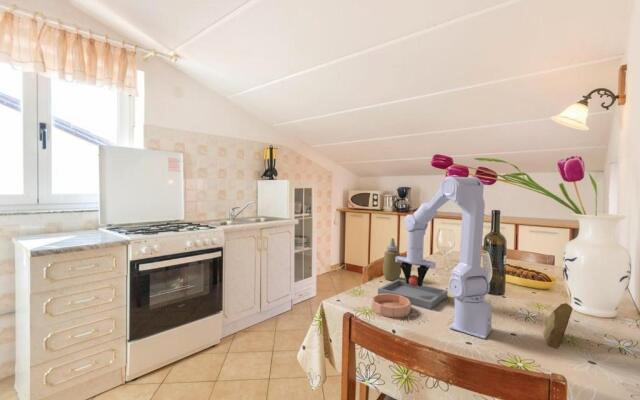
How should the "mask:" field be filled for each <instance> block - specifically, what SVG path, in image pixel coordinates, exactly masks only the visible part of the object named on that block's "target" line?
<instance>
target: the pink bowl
mask: <svg viewBox="0 0 640 400" xmlns="http://www.w3.org/2000/svg"><path fill="white" fill-rule="evenodd" d="M411 306H412V304H411V303H410V301H409V299H408V298H405V297H403V296H401V295H396V294H389V293H387V294H378V293H377V294H375V295H373V296H371V310H372V312H374V313H375V314H377V315H380V316H383V317H386V318H396V319H397V318H403V317H407V316H408V315H409V314H410V311H411V310H412V309H411Z"/></svg>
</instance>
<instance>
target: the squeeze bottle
mask: <svg viewBox="0 0 640 400" xmlns="http://www.w3.org/2000/svg"><path fill="white" fill-rule="evenodd" d="M398 249H399V248H398V246H396V243H395V238H393V237H392V238H391V239H390V243H389V244H388V245H387V246H386V251H384V254H383V255H384V256H383V262H382V263H383V264H382V273H383V276H384V279H385V280H387V281H391V282H393V281H395V280H397V279H399V280H400V276H401V273H402V268H401V266H400V265H401V264H402V263H401V262H395V259H396V257H397V256H400V257H401V253H400V252H399V251H398Z"/></svg>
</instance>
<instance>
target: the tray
mask: <svg viewBox="0 0 640 400" xmlns="http://www.w3.org/2000/svg"><path fill="white" fill-rule="evenodd" d="M387 293H389V294H396V295H401V296H403V297H405V298H408V299H409V301H410V303H411V306H412V305H413V306H415V307H419V308H422V309H427V310H430V311H431V310H433V309H434V308H435V307H437V306H438V305H439V304H440V303H441V302H443V301H444V300H445V299H447V298H448V295H449V294H448V290H447V289H443V288H439V287H435V286H429V285H426V284H422V286H420V287H419V286H412V285H410V283H409V284H406V280H403V279H400V278H399V279H397V280H394V281H391V282H390V283H388V284H385V285H383V286H381V287H378V288H377V294H387Z"/></svg>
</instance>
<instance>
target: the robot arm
mask: <svg viewBox="0 0 640 400" xmlns="http://www.w3.org/2000/svg"><path fill="white" fill-rule="evenodd" d="M484 186H485V185H484V183H483V182H482V181H481V180H480V179H479V178H478V177H476V176H467V177H466V176H451V175H450V176H446V177H445V178H444V179H443V181H441V182H440V184H439V189H438V191H437V192H436V194H434V196H433V197H432V198H431V199H430V201H429V202H422V203H421V204H420V206H419V207H418V209H416V210H415V211H414V213H413V214H407V215H406V216H405V217H404V222H403V223H404V224H403V225H404V228H405V230H406V232H407V234H406V235H407V236H406V237H407V238H406V256H401V255H400V256H397V257H396V259H395V262H400V263H401V265H400V266H401V271H402V273H403V275H404V278H405V281H406V284H409V277H410V276H412V269H413V268H412V267H413V266H417V267H416V270H417V276H418V286H419V287H420V286H422V285H424V284H423V283H424V280H425V277H426V275H427V273H428V271H429V270H430V269H432V270H434V269H436V262H433V261H430V260H426V259H424V241H425V239H424V238H425V237H424V236H425V235H426V232H427V231H426V230H427V229H428V226H429V225H428V224H429V223H430V222H431V221H432V220H433V219H434V218H435V217H436V216H437V215H438V209H440V208H441V207H442V206H444V205H445V204H446V203H448V201H451V202H453V203H454V204H456V205H458V207H460V209H461V211H462V213H461V215H462V216H461V229H460V242H459V243H460V244H459V245H460V246H459V257H458V258H459V260H458V261H459V262H458V263H457V264H456V266H455V267H454V268H453V269H452V270H451V276H450V278H449V281H448V289H449V291H450V293H451V295H452V297H454V309H453V310H454V313H453V315H454V316H453V322H452V323H451V324H450V325H449V326H448V328H449V329H450V330H454V331H458V332H461V333H463V334H464V333H465V334H468V335H471V336H473V337H474V336H475V337H477V338H481V339H487V337H488V335H489V334H490V332H491V331H492V330H493V328H492V318H493V305H492V302H488V301H485V298H486V297H485V296H486V295H488V294H489V292H490V288H491V287H490V285H491V284H490V282H489V277H488V275H489V272H488V271H487V270H486V269H485V268H484V267H482V266H481V263H482V250H483V249H482V248H483V235H484V221H485V207H486V205H485V199H484Z"/></svg>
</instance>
